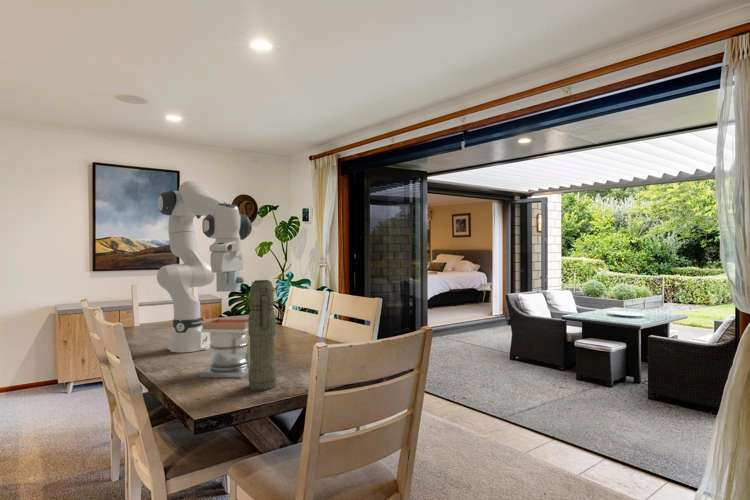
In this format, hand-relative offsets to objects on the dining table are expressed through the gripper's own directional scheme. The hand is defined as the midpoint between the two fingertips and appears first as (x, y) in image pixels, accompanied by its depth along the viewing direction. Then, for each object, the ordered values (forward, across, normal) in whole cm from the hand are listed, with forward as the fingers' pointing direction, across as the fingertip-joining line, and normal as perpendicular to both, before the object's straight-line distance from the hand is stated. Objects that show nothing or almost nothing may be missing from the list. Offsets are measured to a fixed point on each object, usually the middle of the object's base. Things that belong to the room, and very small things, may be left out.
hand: (228, 283), depth 166 cm
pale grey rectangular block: (+3, 0, 0) cm, 3 cm away
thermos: (+33, +17, +19) cm, 42 cm away
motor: (+32, 0, 0) cm, 33 cm away
